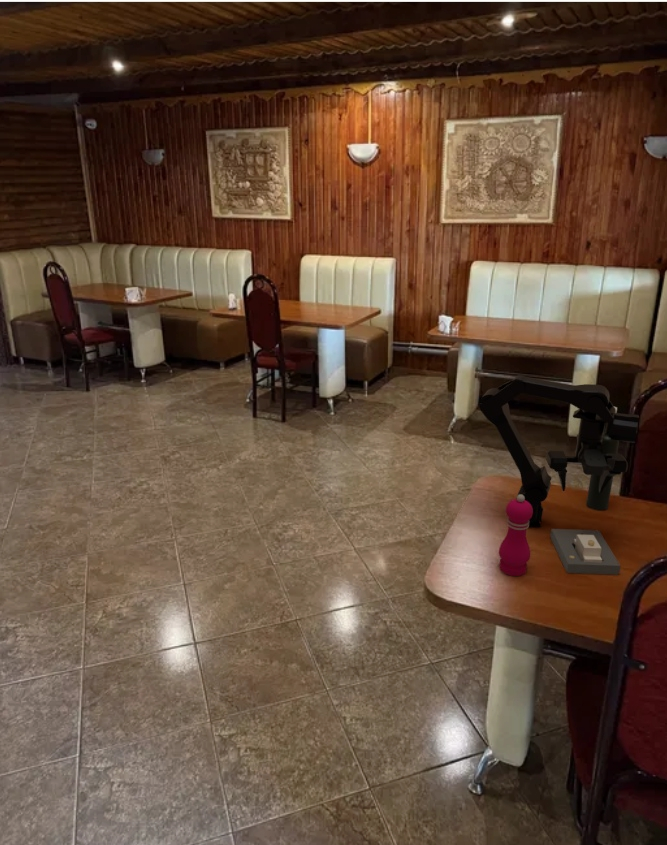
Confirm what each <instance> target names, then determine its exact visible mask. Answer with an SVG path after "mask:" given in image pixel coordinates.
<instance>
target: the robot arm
mask: <svg viewBox="0 0 667 845" xmlns="http://www.w3.org/2000/svg"><path fill="white" fill-rule="evenodd" d="M519 395H525V396H531V397H537V398H541V399H546V400H553V401H557V402H560V403H561V402H562V403H567V404H569V405H572V406H574V407H575V408H577V410H575V411H573V415H572V418H574V419H579V420H580V421H579V426H578V434H577V435H576V440H577V441H576V447H575V449H574V455H573V456H572V455H571V456H568V455H566V454H565V453H564V451H563V450H562V451H561V450H549V451H548V452H547V453H546V457H545V461H546V463H547V465H548V468H549V469H551V470H554V472H556V473H558V478H559V483H560V486H561V490H562V492H565V490H566V484H567V482H566V481H567V478H566V477H567V473H568V470H567V467H568V465H581V466H582V471H583V474H585V475H587V476H591V474H593V475H601V477H600V482H599V492H600V493H602V491H603V490H604V488H605V487H606V485H607V483H608V482H609V481H610V479H611V478H612V477H613V478H614V477H615V476H618V475H622V473H627V472H628V468H629V463H628V461H627V460H626V458H625V457H624V456H623V455H622V454H621V453H617V454H614V453H607V454H603V443H602V439H603V433H604V432H605V428H606V424H607V423H608V428H607V433H606V435H609V438H611V440H618V441H619V442H620V441H621V442H626V443H633V444H636V442H637V437H638V427H639V425H638V424H639V420H640V419H639V418H640V416H639V414H635V413H633V414H628V413H619V412H617V413H615V408H614V407H615V406H614V405H613V403H612V401H611V400H610V397H611V396H610V391H609V389H607V388H606V386H604V385H602V384H591V383H589V384H588V383H587V384H586V383H585V384H577V385H576V384H575V385H574V384H566V383H560V382H555V381H551V380H545V379H539V378H533V377H527V376H525V375H522V374H519V375H516V376H515V377H514V378H512V379H510V380H509V381H507V382H505V383H503V384H502V385H500V386H498V387H493V388H489V389H488V390H486V392H485V393H484V394H483V395H482V396H481V398H480V400H479V401H478V409H479V410H480V412H481V413H482V414H483V416H484V417H485V418H486V419H487V421H488V422H490V423H491V424H492V425H493V426H494V427H495V429H496V430H497V431H498V433H499V436H500V438H501V439H502V441H503V444H505V447H506V449H507V451H508V452H509V454H510V456H511V458H512V460H513V462H514V463H515V465H516V467H517V469H518V472H519V474H520V479H521V486H520V488H519V490H518V493H517V496H518V495H520V494H521V495H523V496H524V497H525V500H526V501H527V502H529V503H530V504H531V506H532V508H533V514H532V517H531V518H530V519H529V527H531V528H537V527H538V528H540V527H541V526H542V524H541V522H542V520H543V519H542V518H543V512H544V508H543V505H542V502H544V501H545V500H546V499H547V498H548V495H549V492H550V489H551V484H552V482H551V480H552V476H550V474H549V473H548V471H547V467H546V466H545V465H543V466H542V467H539V466H538V465H537V463H535V461H534V459H533V458H532V455H531V453H530V451H529V449H528V447H527V446H526V444H525V442H524V440H523V438H522V437H521V434H520V433H519V431H518V429H517V427H516V425H515V423H514V421H513V419H512V417H511V413H510V405H509V402H511V401H512V400H514V399H515V398H516V397H518V396H519ZM517 496H516V497H515V499H517ZM529 527H528V528H529Z"/></svg>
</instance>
